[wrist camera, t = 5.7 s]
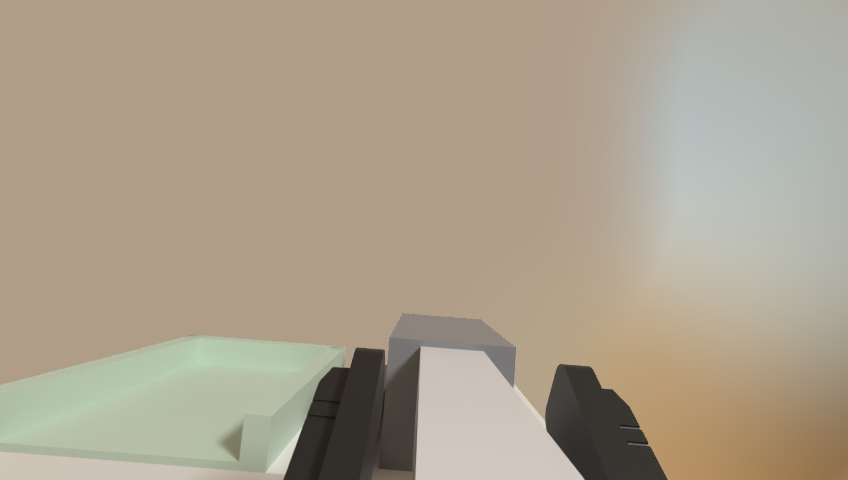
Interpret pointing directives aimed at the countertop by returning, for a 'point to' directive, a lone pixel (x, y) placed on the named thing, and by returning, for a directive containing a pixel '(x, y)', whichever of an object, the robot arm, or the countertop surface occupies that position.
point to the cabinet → (171, 413)
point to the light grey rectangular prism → (461, 407)
